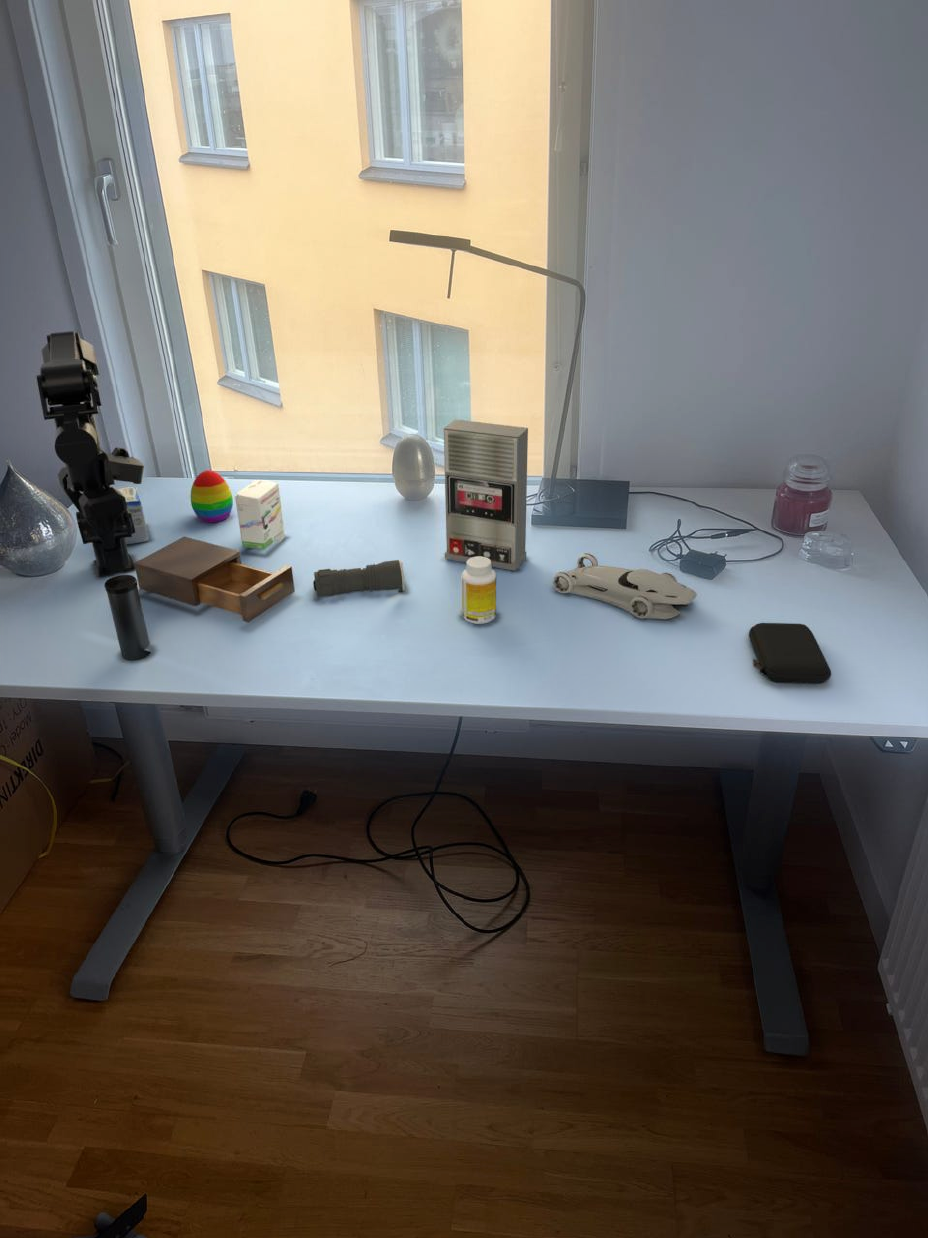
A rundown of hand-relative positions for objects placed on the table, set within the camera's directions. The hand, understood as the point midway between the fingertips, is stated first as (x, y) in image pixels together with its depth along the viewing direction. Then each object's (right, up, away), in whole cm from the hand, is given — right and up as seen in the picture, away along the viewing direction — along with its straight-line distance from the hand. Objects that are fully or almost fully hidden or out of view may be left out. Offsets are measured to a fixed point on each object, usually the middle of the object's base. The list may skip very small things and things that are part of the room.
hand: (103, 538), depth 152 cm
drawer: (+22, -11, +6) cm, 25 cm away
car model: (+86, -9, +7) cm, 87 cm away
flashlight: (+41, -9, +10) cm, 43 cm away
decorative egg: (+8, +8, +39) cm, 40 cm away
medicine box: (-6, +3, +32) cm, 32 cm away
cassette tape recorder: (+63, -2, +20) cm, 66 cm away
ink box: (+21, +1, +27) cm, 34 cm away
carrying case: (+107, -20, -11) cm, 110 cm away
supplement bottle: (+61, -13, +2) cm, 63 cm away
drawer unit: (+11, -8, +11) cm, 18 cm away
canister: (+8, -19, -6) cm, 21 cm away
